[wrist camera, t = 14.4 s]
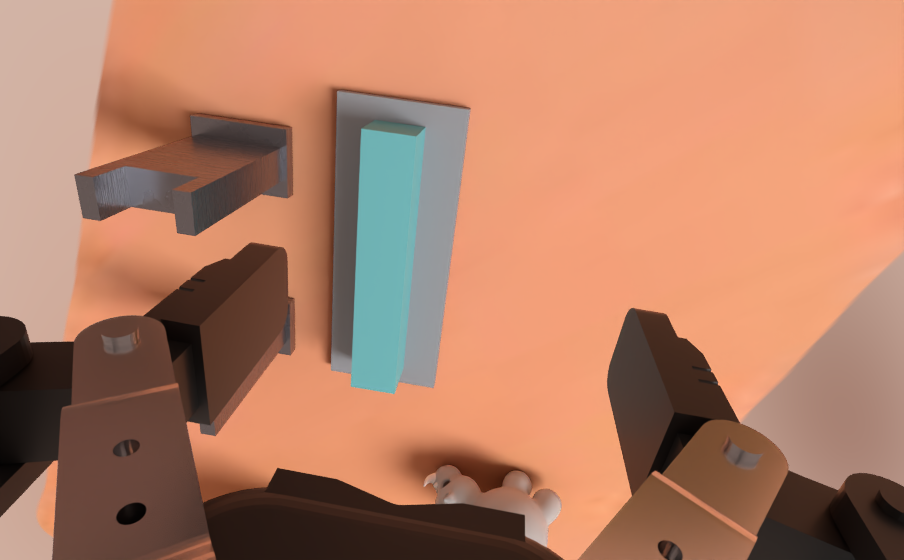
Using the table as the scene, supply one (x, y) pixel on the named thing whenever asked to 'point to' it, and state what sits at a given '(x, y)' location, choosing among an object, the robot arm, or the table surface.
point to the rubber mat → (431, 230)
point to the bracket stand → (201, 195)
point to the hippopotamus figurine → (500, 498)
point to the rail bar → (385, 251)
